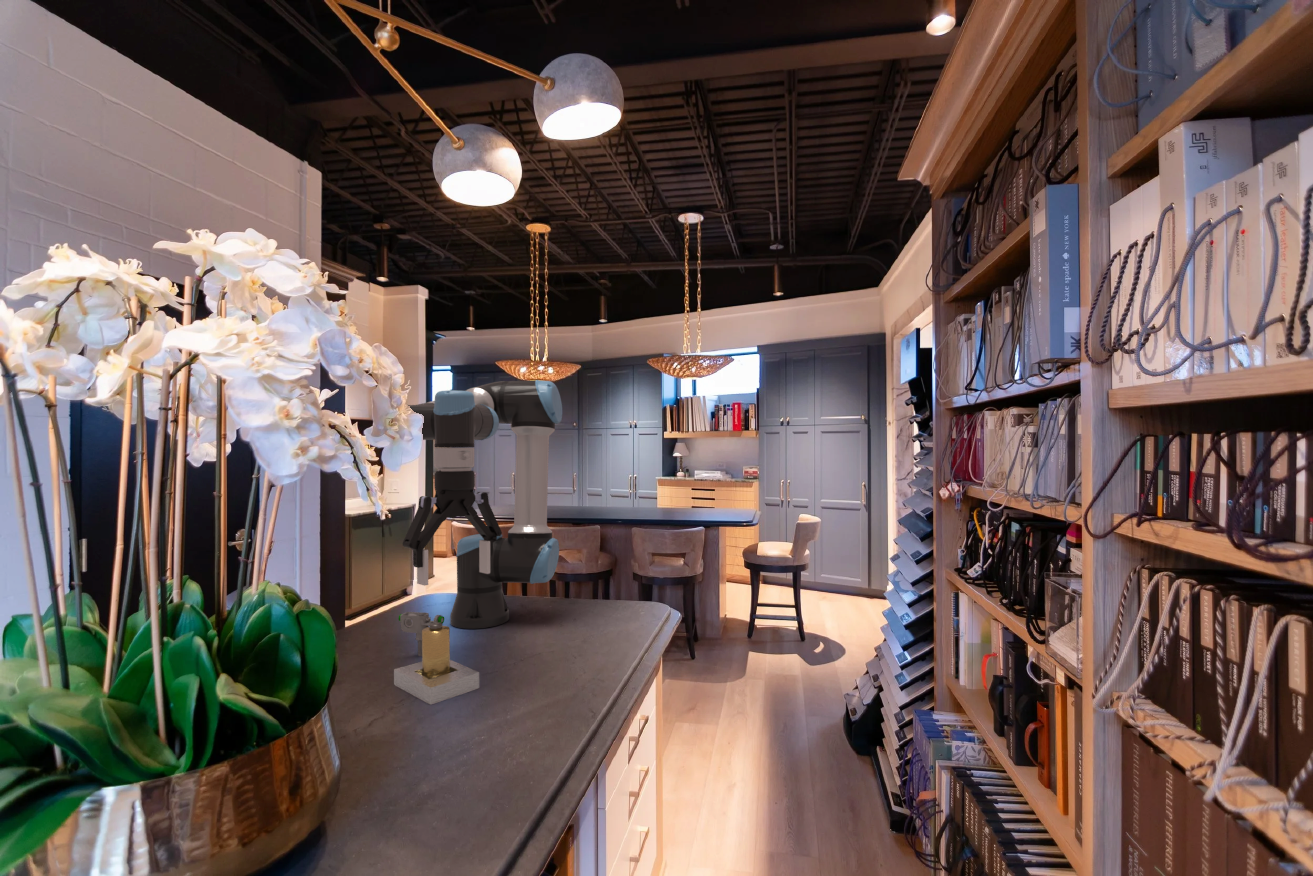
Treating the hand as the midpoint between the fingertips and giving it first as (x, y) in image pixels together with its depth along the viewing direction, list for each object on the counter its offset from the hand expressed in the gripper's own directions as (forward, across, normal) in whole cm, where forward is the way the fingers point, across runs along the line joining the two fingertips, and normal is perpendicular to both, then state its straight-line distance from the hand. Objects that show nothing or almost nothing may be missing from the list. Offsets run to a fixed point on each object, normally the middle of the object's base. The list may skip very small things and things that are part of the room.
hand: (455, 578), depth 124 cm
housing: (+22, -3, +2) cm, 22 cm away
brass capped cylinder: (+20, -3, +2) cm, 21 cm away
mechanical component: (+22, +4, +20) cm, 30 cm away
